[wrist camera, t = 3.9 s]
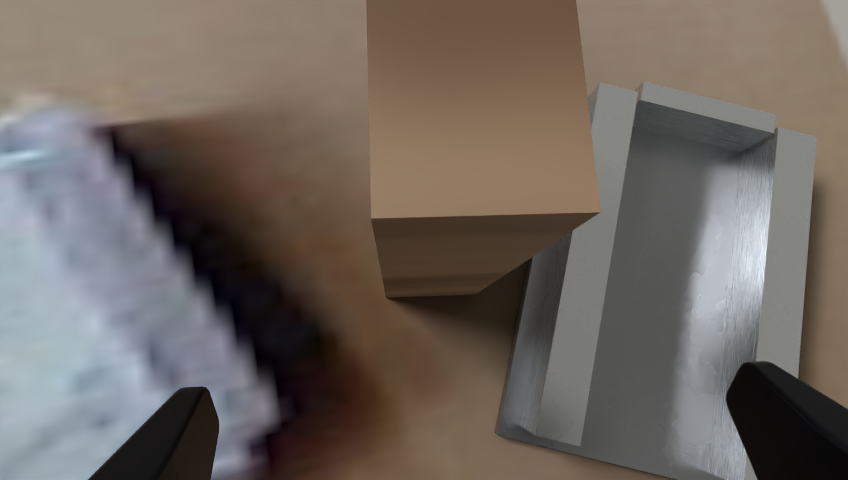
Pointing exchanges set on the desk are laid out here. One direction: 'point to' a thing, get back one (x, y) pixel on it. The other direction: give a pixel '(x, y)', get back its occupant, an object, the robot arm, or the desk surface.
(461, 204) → the tan block
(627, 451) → the open-ended gray metal tray
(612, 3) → the desk surface
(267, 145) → the desk surface
